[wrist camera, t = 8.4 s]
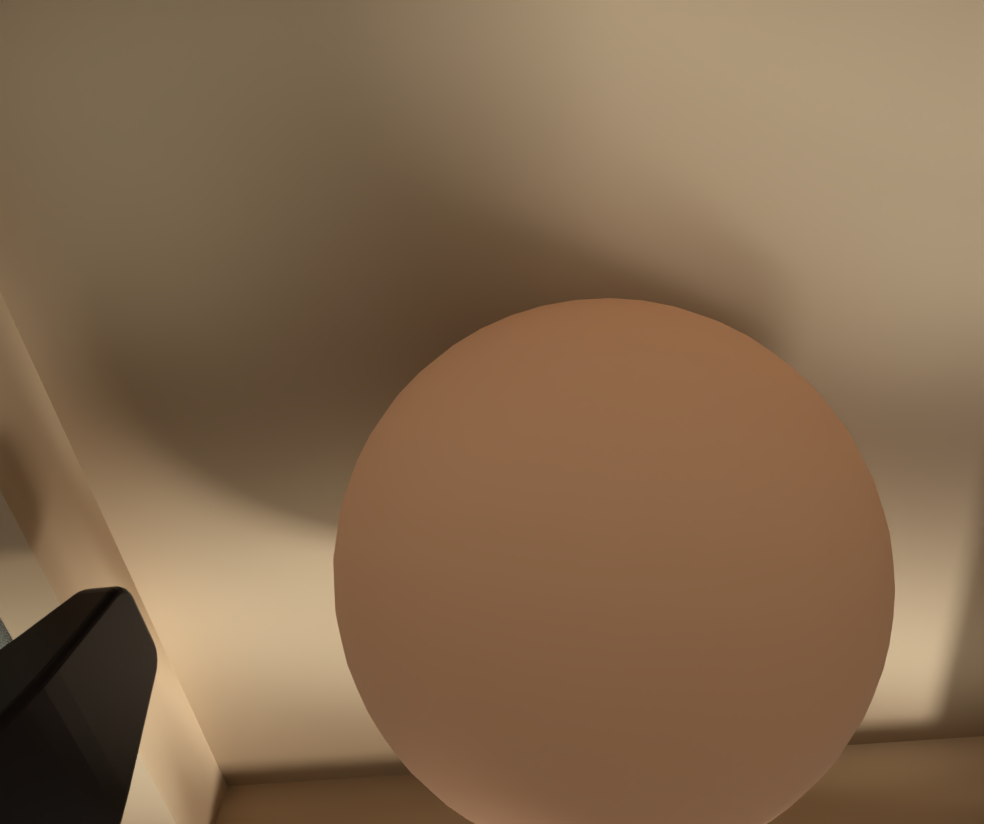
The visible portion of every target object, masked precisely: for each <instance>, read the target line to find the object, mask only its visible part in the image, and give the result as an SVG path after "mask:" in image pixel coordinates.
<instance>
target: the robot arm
mask: <svg viewBox="0 0 984 824" xmlns="http://www.w3.org/2000/svg"><path fill="white" fill-rule="evenodd" d="M157 662H158V659H157V650H156V646H155V643H154V641H153V639H152V636H151V634H150V632H149V630H148V628H147V626H146V624H145V621H144V619H143V617H142V615H141V613H140V611H139V609H138V606H137V604H136V602H135V600H134V598H133V596H132V595H131V593H130V592H129V591H128V590H127V589H125V588H123V587H119V586H113V587H102V588H90V589H85V590H81V591H79V592H77V593H76V594H74V595H73V596H72V597H70V598H69V599H68V600H66V601H65V602H64V603H62V604H61V605H60V606H58V607H57V608H56V609H54V610H53V611H52V612H50V613H49V614H48V615H46V616H45V617H43V618H42V619H41V620H39V621H38V622H37V623H35V624H34V625H33V626H31V627H30V628H29V629H27V630H26V631H25V632H23V633H22V634H21V635H19V636H18V637H17V638H15V639H14V640H13V641H11V642H10V643H9V644H7V645H6V646H5V647H3V648H2V649H1V650H0V824H121V821H122V818H123V814H124V810H125V806H126V802H127V798H128V795H129V790H130V786H131V781H132V777H133V773H134V768H135V764H136V760H137V755H138V751H139V746H140V742H141V738H142V733H143V729H144V724H145V720H146V716H147V711H148V707H149V703H150V698H151V694H152V689H153V685H154V681H155V676H156V671H157Z"/></svg>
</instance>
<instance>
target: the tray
mask: <svg viewBox="0 0 984 824" xmlns="http://www.w3.org/2000/svg"><path fill="white" fill-rule="evenodd" d="M601 298H616V299H631V300H644V301H649V302H654V303H659V304H664V305H670V306H675V307H678V308H681V309H684V310H687V311H690V312H693V313H696V314H699V315H702V316H705V317H708V318H711V319H713V320H716V321H719V322H721V323H723V324H725V325H727V326H729V327H731V328H733V329H735V330H737V331H739V332H741V333H743V334H745V335H747V336H749V337H751V338H752V339H754V340H755V341H757V342H758V343H760V344H761V345H762V346H764V347H765V348H767V349H768V350H770V351H771V352H773V353H774V354H776V355H777V356H778V357H780V358H781V359H782V360H784V361H785V362H786V363H788V364H789V365H790V366H791V367H793V368H794V369H795V370H796V371H797V372H798V373H799V374H800V375H801V376H802V377H803V378H804V379H805V380H807V381H808V382H809V383H810V384H811V385H812V386H813V387H814V388H815V389H816V390H817V392H818V393H819V394H820V395H821V397H822V398H823V399H824V400H825V401H826V403H827V404H828V405H829V406H830V408H831V409H832V410H833V411H834V413H835V414H836V415H837V417H838V418H839V419H840V420H841V422H842V423H843V424H844V426H845V427H846V428H847V430H848V431H849V433H850V435H851V437H852V439H853V440H854V442H855V444H856V446H857V448H858V450H859V452H860V454H861V456H862V457H863V459H864V461H865V463H866V465H867V467H868V469H869V471H870V473H871V475H872V477H873V479H874V481H875V485H876V488H877V491H878V494H879V497H880V500H881V504H882V507H883V510H884V514H885V518H886V521H887V525H888V529H889V532H890V538H891V546H892V554H893V563H894V579H895V601H894V616H893V624H892V631H891V638H890V645H889V649H888V653H887V657H886V661H885V665H884V669H883V672H882V675H881V677H880V680H879V683H878V686H877V688H876V691H875V694H874V696H873V699H872V701H871V703H870V705H869V708H868V710H867V712H866V715H865V717H864V719H863V720H862V722H861V724H860V725H859V727H858V728H857V730H856V731H855V733H854V734H853V736H852V738H851V739H850V741H849V742H848V744H847V745H846V747H845V748H844V750H843V752H842V753H841V755H840V756H839V758H838V759H837V761H836V762H835V763H834V764H833V765H832V767H831V768H830V769H829V770H828V771H827V772H826V774H825V775H824V776H823V777H822V778H821V779H820V780H819V781H818V782H817V783H816V784H815V785H814V786H812V787H811V788H810V789H809V790H808V791H807V792H806V793H805V794H804V795H803V796H802V797H801V798H799V799H798V800H797V801H796V802H795V803H794V804H793V805H792V806H791V807H790V808H788V809H787V810H786V811H784V812H783V813H781V814H780V815H779V816H777V817H776V818H774V819H773V820H772V821H770V822H768V823H767V824H984V0H0V618H1V620H2V622H3V623H4V625H5V627H6V628H7V630H8V632H9V634H10V635H11V637H12V639H13V640H14V639H15V638H17V637H18V636H19V635H21V634H22V633H23V632H25V631H26V630H27V629H29V628H30V627H31V626H33V625H34V624H35V623H37V622H38V621H39V620H41V619H42V618H43V617H45V616H46V615H48V614H49V613H50V612H52V611H53V610H54V609H56V608H57V607H58V606H60V605H61V604H62V603H64V602H65V601H66V600H68V599H69V598H70V597H72V596H73V595H74V594H76V593H77V592H79V591H81V590H85V589H90V588H102V587H113V586H119V587H123V588H125V589H127V590H128V591H129V592H130V593H131V595H132V596H133V598H134V600H135V602H136V604H137V606H138V609H139V611H140V613H141V615H142V617H143V619H144V621H145V624H146V626H147V628H148V630H149V632H150V634H151V636H152V639H153V641H154V643H155V646H156V650H157V659H158V662H157V671H156V676H155V681H154V685H153V689H152V694H151V698H150V703H149V707H148V711H147V716H146V720H145V724H144V729H143V733H142V738H141V742H140V746H139V751H138V755H137V760H136V764H135V768H134V773H133V777H132V781H131V786H130V790H129V795H128V798H127V802H126V806H125V810H124V814H123V818H122V821H121V824H474V823H473V822H471V821H469V820H468V819H466V818H464V817H463V816H461V815H460V814H458V813H457V812H456V811H454V810H453V809H451V808H450V807H448V806H447V805H446V804H445V803H444V802H442V801H441V800H440V799H439V798H438V797H437V796H436V795H435V794H434V793H432V792H431V791H430V790H429V789H428V788H427V787H426V786H425V785H424V784H423V783H422V782H421V781H419V780H418V779H417V778H416V777H415V776H414V775H413V774H412V773H411V772H410V771H409V770H408V768H407V767H406V766H405V765H404V764H403V763H402V761H401V760H400V759H399V758H398V757H397V755H396V754H395V753H394V751H393V750H392V748H391V747H390V746H389V744H388V743H387V741H386V740H385V739H384V737H383V736H382V734H381V733H380V731H379V730H378V728H377V727H376V725H375V723H374V722H373V720H372V718H371V717H370V715H369V713H368V712H367V709H366V707H365V705H364V703H363V701H362V698H361V696H360V694H359V692H358V690H357V687H356V685H355V682H354V680H353V677H352V675H351V673H350V670H349V668H348V665H347V662H346V658H345V653H344V649H343V645H342V641H341V637H340V632H339V627H338V623H337V618H336V613H335V595H334V570H333V558H334V550H335V543H336V536H337V529H338V522H339V516H340V509H341V506H342V503H343V499H344V496H345V493H346V490H347V487H348V484H349V481H350V478H351V475H352V473H353V470H354V467H355V465H356V462H357V460H358V458H359V456H360V454H361V452H362V450H363V448H364V446H365V444H366V442H367V440H368V438H369V436H370V434H371V433H372V431H373V430H374V428H375V427H376V425H377V424H378V422H379V421H380V419H381V418H382V416H383V415H384V414H385V412H386V411H387V409H388V408H389V407H390V405H391V404H392V402H393V401H394V400H395V398H396V397H397V395H398V394H399V393H400V392H401V391H402V390H403V389H404V388H405V387H406V386H407V385H408V384H409V383H410V382H411V381H412V380H413V379H414V377H415V376H416V375H417V374H418V373H419V372H420V371H422V370H423V369H424V368H425V367H427V366H428V365H429V364H430V363H432V362H433V361H434V360H435V359H437V358H438V357H439V356H440V355H442V354H443V353H444V352H445V351H447V350H448V349H449V348H451V347H452V346H453V345H454V344H456V343H458V342H459V341H461V340H463V339H464V338H466V337H468V336H469V335H471V334H473V333H474V332H476V331H478V330H479V329H481V328H483V327H486V326H488V325H490V324H492V323H495V322H497V321H499V320H501V319H504V318H506V317H508V316H510V315H514V314H517V313H520V312H523V311H527V310H530V309H533V308H537V307H540V306H544V305H550V304H555V303H561V302H567V301H572V300H583V299H601Z"/></svg>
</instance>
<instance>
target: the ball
mask: <svg viewBox="0 0 984 824" xmlns="http://www.w3.org/2000/svg"><path fill="white" fill-rule="evenodd" d="M333 570H334V595H335V613H336V618H337V623H338V627H339V632H340V637H341V641H342V645H343V649H344V653H345V658H346V662H347V665H348V668H349V670H350V673H351V675H352V677H353V680H354V682H355V685H356V687H357V690H358V692H359V694H360V696H361V698H362V701H363V703H364V705H365V707H366V709H367V712H368V713H369V715H370V717H371V718H372V720H373V722H374V723H375V725H376V727H377V728H378V730H379V731H380V733H381V734H382V736H383V737H384V739H385V740H386V741H387V743H388V744H389V746H390V747H391V748H392V750H393V751H394V753H395V754H396V755H397V757H398V758H399V759H400V760H401V761H402V763H403V764H404V765H405V766H406V767H407V768H408V770H409V771H410V772H411V773H412V774H413V775H414V776H415V777H416V778H417V779H418V780H419V781H421V782H422V783H423V784H424V785H425V786H426V787H427V788H428V789H429V790H430V791H431V792H432V793H434V794H435V795H436V796H437V797H438V798H439V799H440V800H441V801H442V802H444V803H445V804H446V805H447V806H448V807H450V808H451V809H453V810H454V811H456V812H457V813H458V814H460V815H461V816H463V817H464V818H466V819H468V820H469V821H471V822H473V823H474V824H767V823H768V822H770V821H772V820H773V819H774V818H776V817H777V816H779V815H780V814H781V813H783V812H784V811H786V810H787V809H788V808H790V807H791V806H792V805H793V804H794V803H795V802H796V801H797V800H798V799H799V798H801V797H802V796H803V795H804V794H805V793H806V792H807V791H808V790H809V789H810V788H811V787H812V786H814V785H815V784H816V783H817V782H818V781H819V780H820V779H821V778H822V777H823V776H824V775H825V774H826V772H827V771H828V770H829V769H830V768H831V767H832V765H833V764H834V763H835V762H836V761H837V759H838V758H839V756H840V755H841V753H842V752H843V750H844V748H845V747H846V745H847V744H848V742H849V741H850V739H851V738H852V736H853V734H854V733H855V731H856V730H857V728H858V727H859V725H860V724H861V722H862V720H863V719H864V717H865V715H866V712H867V710H868V708H869V705H870V703H871V701H872V699H873V696H874V694H875V691H876V688H877V686H878V683H879V680H880V677H881V675H882V672H883V669H884V665H885V661H886V657H887V653H888V649H889V645H890V638H891V631H892V624H893V616H894V601H895V579H894V563H893V554H892V546H891V538H890V532H889V529H888V525H887V521H886V518H885V514H884V510H883V507H882V504H881V500H880V497H879V494H878V491H877V488H876V485H875V481H874V479H873V477H872V475H871V473H870V471H869V469H868V467H867V465H866V463H865V461H864V459H863V457H862V456H861V454H860V452H859V450H858V448H857V446H856V444H855V442H854V440H853V439H852V437H851V435H850V433H849V431H848V430H847V428H846V427H845V426H844V424H843V423H842V422H841V420H840V419H839V418H838V417H837V415H836V414H835V413H834V411H833V410H832V409H831V408H830V406H829V405H828V404H827V403H826V401H825V400H824V399H823V398H822V397H821V395H820V394H819V393H818V392H817V390H816V389H815V388H814V387H813V386H812V385H811V384H810V383H809V382H808V381H807V380H805V379H804V378H803V377H802V376H801V375H800V374H799V373H798V372H797V371H796V370H795V369H794V368H793V367H791V366H790V365H789V364H788V363H786V362H785V361H784V360H782V359H781V358H780V357H778V356H777V355H776V354H774V353H773V352H771V351H770V350H768V349H767V348H765V347H764V346H762V345H761V344H760V343H758V342H757V341H755V340H754V339H752V338H751V337H749V336H747V335H745V334H743V333H741V332H739V331H737V330H735V329H733V328H731V327H729V326H727V325H725V324H723V323H721V322H719V321H716V320H713V319H711V318H708V317H705V316H702V315H699V314H696V313H693V312H690V311H687V310H684V309H681V308H678V307H675V306H670V305H664V304H659V303H654V302H649V301H644V300H631V299H616V298H601V299H583V300H572V301H567V302H561V303H555V304H550V305H544V306H540V307H537V308H533V309H530V310H527V311H523V312H520V313H517V314H514V315H510V316H508V317H506V318H504V319H501V320H499V321H497V322H495V323H492V324H490V325H488V326H486V327H483V328H481V329H479V330H478V331H476V332H474V333H473V334H471V335H469V336H468V337H466V338H464V339H463V340H461V341H459V342H458V343H456V344H454V345H453V346H452V347H451V348H449V349H448V350H447V351H445V352H444V353H443V354H442V355H440V356H439V357H438V358H437V359H435V360H434V361H433V362H432V363H430V364H429V365H428V366H427V367H425V368H424V369H423V370H422V371H420V372H419V373H418V374H417V375H416V376H415V377H414V379H413V380H412V381H411V382H410V383H409V384H408V385H407V386H406V387H405V388H404V389H403V390H402V391H401V392H400V393H399V394H398V395H397V397H396V398H395V400H394V401H393V402H392V404H391V405H390V407H389V408H388V409H387V411H386V412H385V414H384V415H383V416H382V418H381V419H380V421H379V422H378V424H377V425H376V427H375V428H374V430H373V431H372V433H371V434H370V436H369V438H368V440H367V442H366V444H365V446H364V448H363V450H362V452H361V454H360V456H359V458H358V460H357V462H356V465H355V467H354V470H353V473H352V475H351V478H350V481H349V484H348V487H347V490H346V493H345V496H344V499H343V503H342V506H341V509H340V516H339V522H338V529H337V536H336V543H335V550H334V558H333Z"/></svg>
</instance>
